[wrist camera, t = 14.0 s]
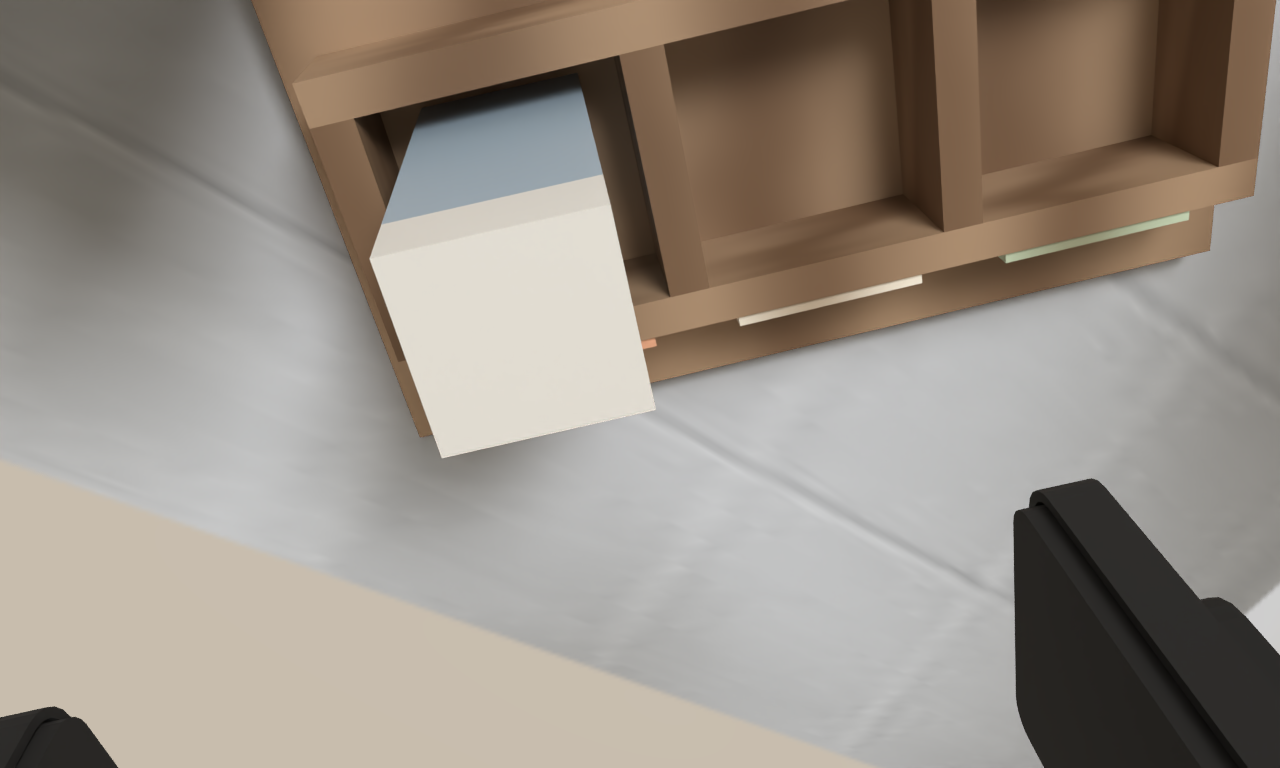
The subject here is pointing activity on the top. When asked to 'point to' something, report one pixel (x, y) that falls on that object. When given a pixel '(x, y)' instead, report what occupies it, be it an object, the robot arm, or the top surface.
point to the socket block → (815, 144)
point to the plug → (510, 271)
